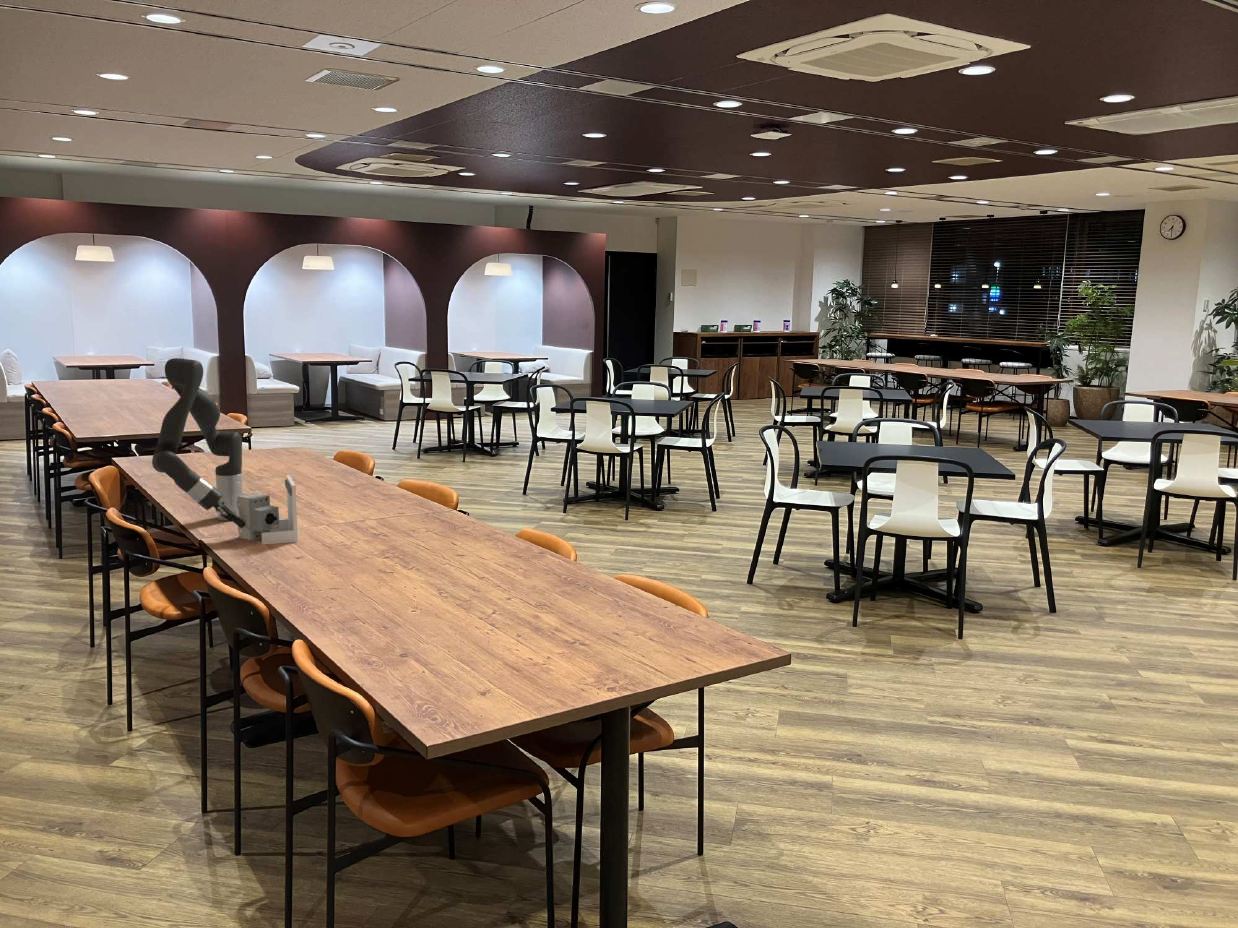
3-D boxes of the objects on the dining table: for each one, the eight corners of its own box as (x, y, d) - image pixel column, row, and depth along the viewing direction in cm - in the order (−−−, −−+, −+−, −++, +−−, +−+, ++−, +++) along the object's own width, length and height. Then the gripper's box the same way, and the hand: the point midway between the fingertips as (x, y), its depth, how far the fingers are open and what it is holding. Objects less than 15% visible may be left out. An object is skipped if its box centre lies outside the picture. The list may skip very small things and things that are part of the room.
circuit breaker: (265, 543, 340) (263, 500, 337) (238, 537, 347) (236, 495, 344) (283, 538, 346) (281, 497, 344) (255, 533, 353) (254, 492, 351)
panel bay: (257, 531, 356) (255, 477, 352) (291, 529, 360) (289, 475, 357) (262, 544, 338) (259, 487, 334) (297, 541, 342) (295, 485, 339)
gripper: (212, 489, 332) (252, 521, 338) (211, 482, 344) (250, 514, 350) (196, 505, 330) (236, 538, 337) (195, 497, 342) (235, 529, 349)
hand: (243, 525), depth 344 cm, fingers closed
